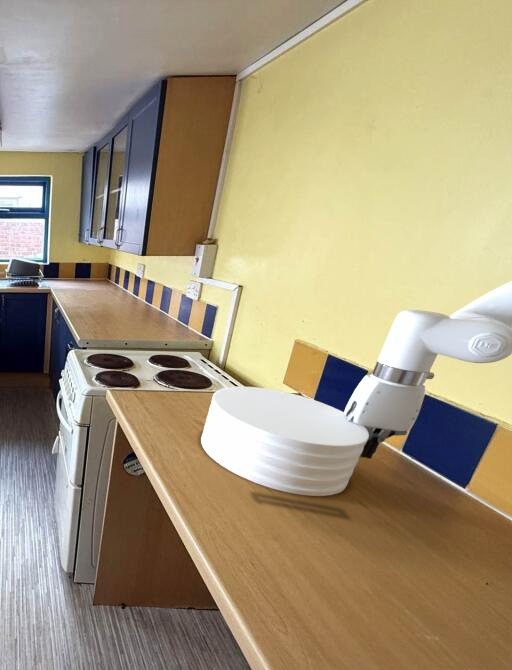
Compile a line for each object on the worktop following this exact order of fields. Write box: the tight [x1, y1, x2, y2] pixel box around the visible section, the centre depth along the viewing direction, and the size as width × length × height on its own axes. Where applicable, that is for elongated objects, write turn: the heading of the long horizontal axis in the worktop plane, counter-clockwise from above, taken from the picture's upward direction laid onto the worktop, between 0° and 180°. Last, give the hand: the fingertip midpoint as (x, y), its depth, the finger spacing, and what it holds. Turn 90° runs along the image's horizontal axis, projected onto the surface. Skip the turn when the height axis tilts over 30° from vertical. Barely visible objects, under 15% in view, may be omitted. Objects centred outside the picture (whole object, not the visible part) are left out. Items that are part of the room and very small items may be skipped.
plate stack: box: [200, 386, 369, 497], centre depth 89 cm, size 28×28×12 cm
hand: (362, 454), depth 86 cm, fingers closed
